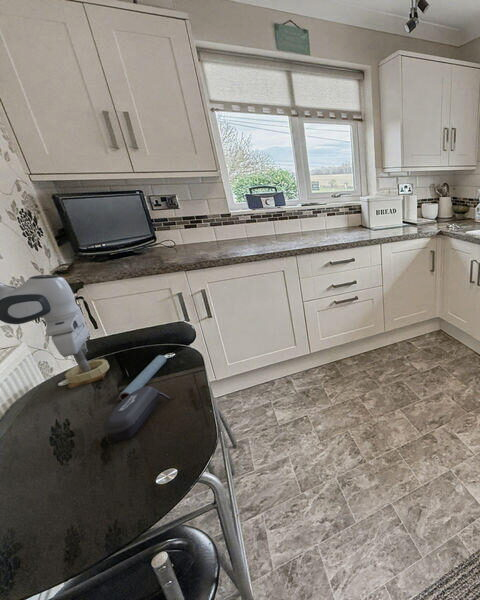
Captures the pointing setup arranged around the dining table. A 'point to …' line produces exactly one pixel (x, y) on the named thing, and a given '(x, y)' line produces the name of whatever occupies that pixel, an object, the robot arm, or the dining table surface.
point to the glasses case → (132, 413)
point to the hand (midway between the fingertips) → (83, 356)
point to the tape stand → (84, 369)
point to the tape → (74, 378)
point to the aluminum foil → (143, 376)
